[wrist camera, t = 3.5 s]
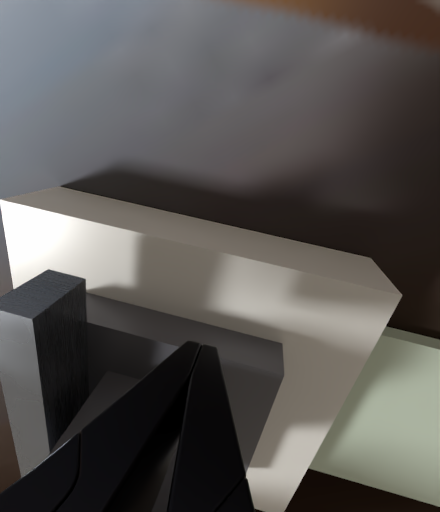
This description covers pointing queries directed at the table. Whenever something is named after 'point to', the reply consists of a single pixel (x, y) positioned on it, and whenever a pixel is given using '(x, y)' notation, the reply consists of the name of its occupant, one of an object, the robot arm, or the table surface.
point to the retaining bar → (43, 361)
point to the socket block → (222, 302)
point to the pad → (390, 421)
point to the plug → (158, 349)
